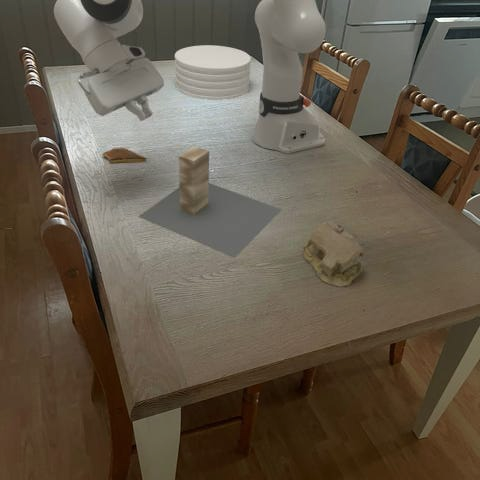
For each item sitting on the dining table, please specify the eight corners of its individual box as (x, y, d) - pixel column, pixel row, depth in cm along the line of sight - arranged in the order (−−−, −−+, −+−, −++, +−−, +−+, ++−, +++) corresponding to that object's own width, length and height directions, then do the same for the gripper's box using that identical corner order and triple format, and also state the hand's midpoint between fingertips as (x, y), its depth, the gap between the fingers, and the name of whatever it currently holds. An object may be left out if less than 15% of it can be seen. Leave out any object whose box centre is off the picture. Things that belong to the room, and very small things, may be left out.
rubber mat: (138, 218, 107) (138, 216, 107) (193, 179, 122) (193, 177, 122) (234, 259, 97) (234, 257, 97) (281, 211, 113) (281, 209, 112)
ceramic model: (373, 273, 97) (385, 234, 90) (335, 293, 91) (345, 254, 85) (326, 238, 105) (334, 201, 99) (289, 254, 100) (295, 216, 94)
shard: (147, 163, 129) (147, 157, 128) (126, 173, 124) (126, 167, 123) (120, 150, 134) (120, 145, 133) (99, 160, 129) (98, 154, 128)
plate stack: (248, 102, 168) (251, 70, 161) (171, 98, 167) (169, 65, 160) (248, 76, 190) (250, 47, 183) (180, 72, 189) (179, 43, 182)
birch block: (180, 209, 110) (178, 155, 101) (194, 197, 114) (194, 146, 106) (194, 214, 109) (193, 161, 100) (208, 203, 113) (209, 150, 104)
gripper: (80, 67, 93) (122, 126, 95) (146, 46, 107) (181, 97, 109) (67, 84, 97) (108, 140, 100) (133, 61, 111) (167, 111, 114)
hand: (147, 117), depth 105 cm, fingers closed
